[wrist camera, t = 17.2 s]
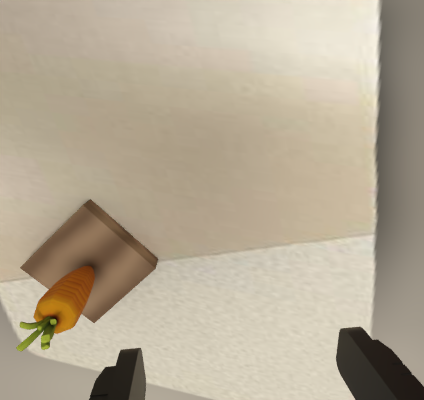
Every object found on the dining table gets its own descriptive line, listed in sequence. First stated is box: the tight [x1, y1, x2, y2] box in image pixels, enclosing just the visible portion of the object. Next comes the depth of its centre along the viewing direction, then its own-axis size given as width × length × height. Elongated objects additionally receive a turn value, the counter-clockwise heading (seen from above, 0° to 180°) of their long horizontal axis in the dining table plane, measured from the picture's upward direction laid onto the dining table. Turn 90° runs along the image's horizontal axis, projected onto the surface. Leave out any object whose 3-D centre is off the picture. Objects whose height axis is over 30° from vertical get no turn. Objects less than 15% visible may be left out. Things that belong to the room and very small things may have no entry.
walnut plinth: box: [20, 199, 158, 323], centre depth 43 cm, size 14×14×3 cm
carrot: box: [16, 266, 95, 351], centre depth 34 cm, size 5×5×15 cm
